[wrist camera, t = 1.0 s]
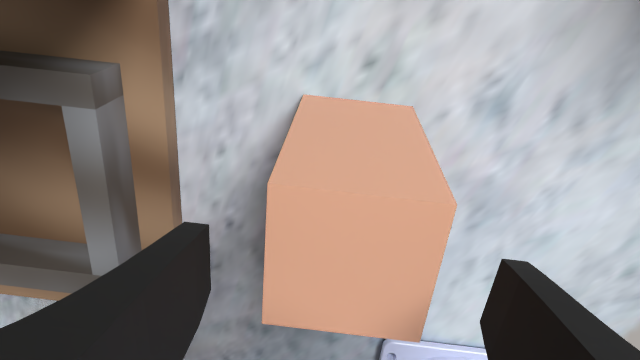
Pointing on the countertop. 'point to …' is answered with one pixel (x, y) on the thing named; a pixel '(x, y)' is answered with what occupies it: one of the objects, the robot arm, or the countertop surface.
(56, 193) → the socket stand
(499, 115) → the countertop surface
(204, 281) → the robot arm
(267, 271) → the peg
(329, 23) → the countertop surface
